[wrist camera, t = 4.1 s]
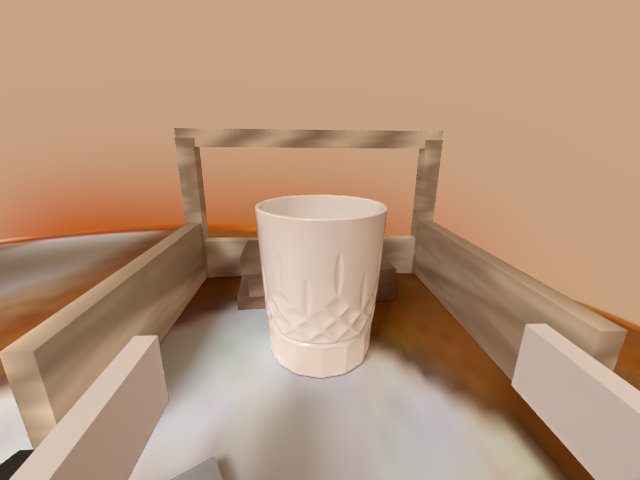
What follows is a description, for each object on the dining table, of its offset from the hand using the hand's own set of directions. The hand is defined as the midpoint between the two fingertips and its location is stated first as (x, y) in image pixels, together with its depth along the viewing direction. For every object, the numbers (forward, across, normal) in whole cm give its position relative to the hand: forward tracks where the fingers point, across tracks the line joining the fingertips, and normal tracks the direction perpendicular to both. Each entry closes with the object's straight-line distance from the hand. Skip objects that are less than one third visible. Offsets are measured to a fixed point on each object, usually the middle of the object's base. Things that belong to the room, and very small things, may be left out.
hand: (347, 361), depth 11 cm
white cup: (+9, 0, -6) cm, 11 cm away
